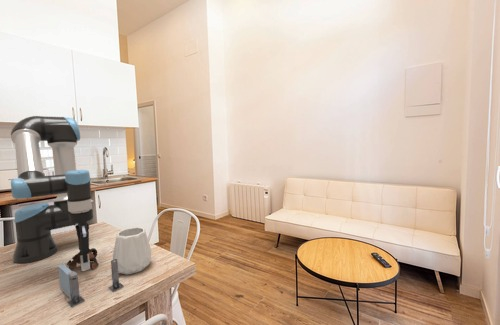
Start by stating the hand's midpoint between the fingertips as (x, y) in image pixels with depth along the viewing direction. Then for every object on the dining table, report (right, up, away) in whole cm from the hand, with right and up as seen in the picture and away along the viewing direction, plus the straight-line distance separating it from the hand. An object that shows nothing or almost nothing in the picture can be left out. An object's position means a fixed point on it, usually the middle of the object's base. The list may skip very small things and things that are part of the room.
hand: (85, 269), depth 94 cm
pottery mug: (-3, -2, +5) cm, 6 cm away
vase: (+17, -1, +4) cm, 17 cm away
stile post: (+17, -2, -9) cm, 19 cm away
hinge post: (+8, -3, -16) cm, 19 cm away
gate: (+3, -2, -13) cm, 13 cm away
